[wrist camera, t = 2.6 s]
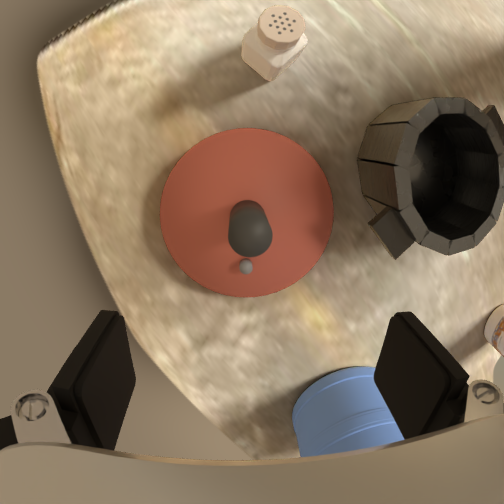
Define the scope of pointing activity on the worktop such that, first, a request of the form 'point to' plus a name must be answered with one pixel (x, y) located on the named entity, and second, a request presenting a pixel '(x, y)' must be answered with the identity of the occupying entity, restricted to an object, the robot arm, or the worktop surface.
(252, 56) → the pepper shaker
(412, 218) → the pot
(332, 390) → the water jug
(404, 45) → the worktop surface
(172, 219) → the lid
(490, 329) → the bath foam
